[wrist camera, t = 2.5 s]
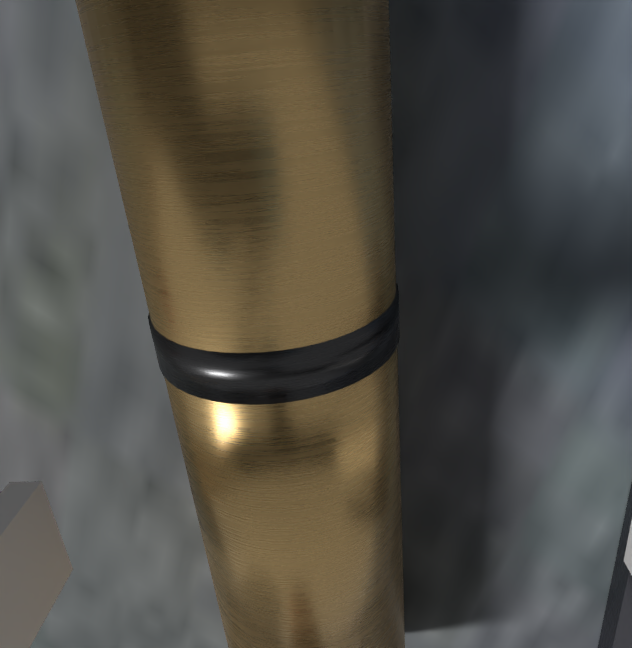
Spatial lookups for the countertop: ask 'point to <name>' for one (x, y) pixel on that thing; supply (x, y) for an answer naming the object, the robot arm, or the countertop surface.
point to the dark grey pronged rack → (619, 596)
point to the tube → (270, 293)
